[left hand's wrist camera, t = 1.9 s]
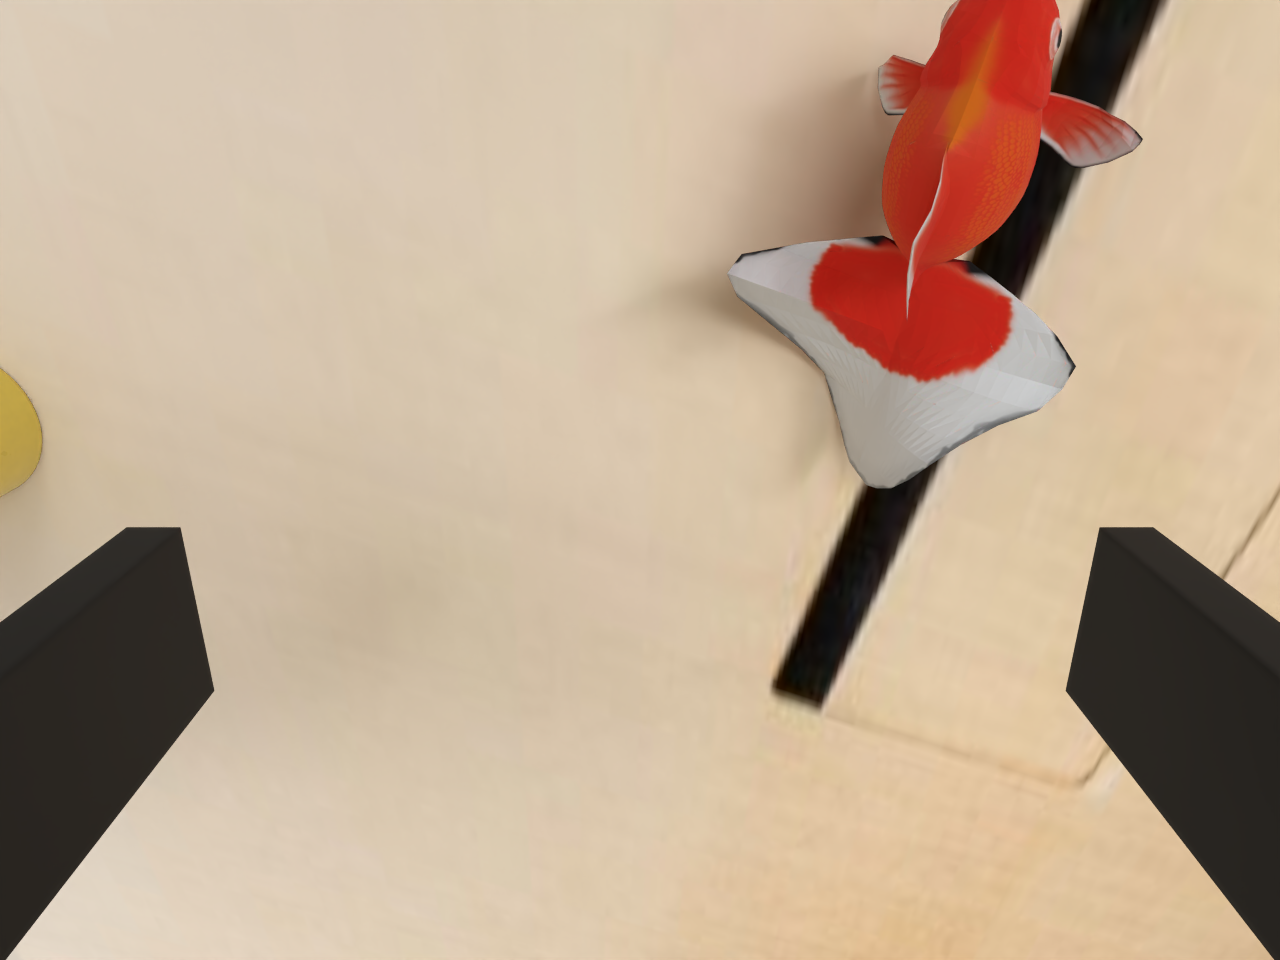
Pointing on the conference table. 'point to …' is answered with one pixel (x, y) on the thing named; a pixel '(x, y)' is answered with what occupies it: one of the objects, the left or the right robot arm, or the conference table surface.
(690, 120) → the conference table surface
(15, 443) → the canister
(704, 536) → the conference table surface
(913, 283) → the fish
